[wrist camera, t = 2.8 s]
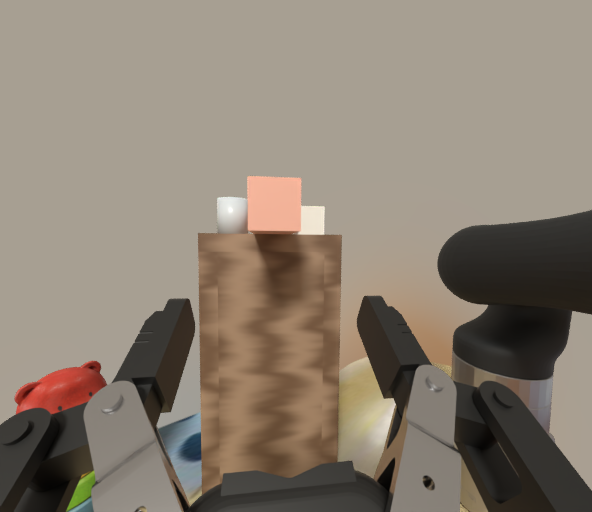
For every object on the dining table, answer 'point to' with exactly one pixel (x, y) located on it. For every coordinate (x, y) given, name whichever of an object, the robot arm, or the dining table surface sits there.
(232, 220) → the grey-blue round brick
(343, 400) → the dining table surface
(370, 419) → the dining table surface
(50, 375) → the stacking bear
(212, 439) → the walnut shelf
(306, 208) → the off-white block brick
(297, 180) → the coral bar brick
